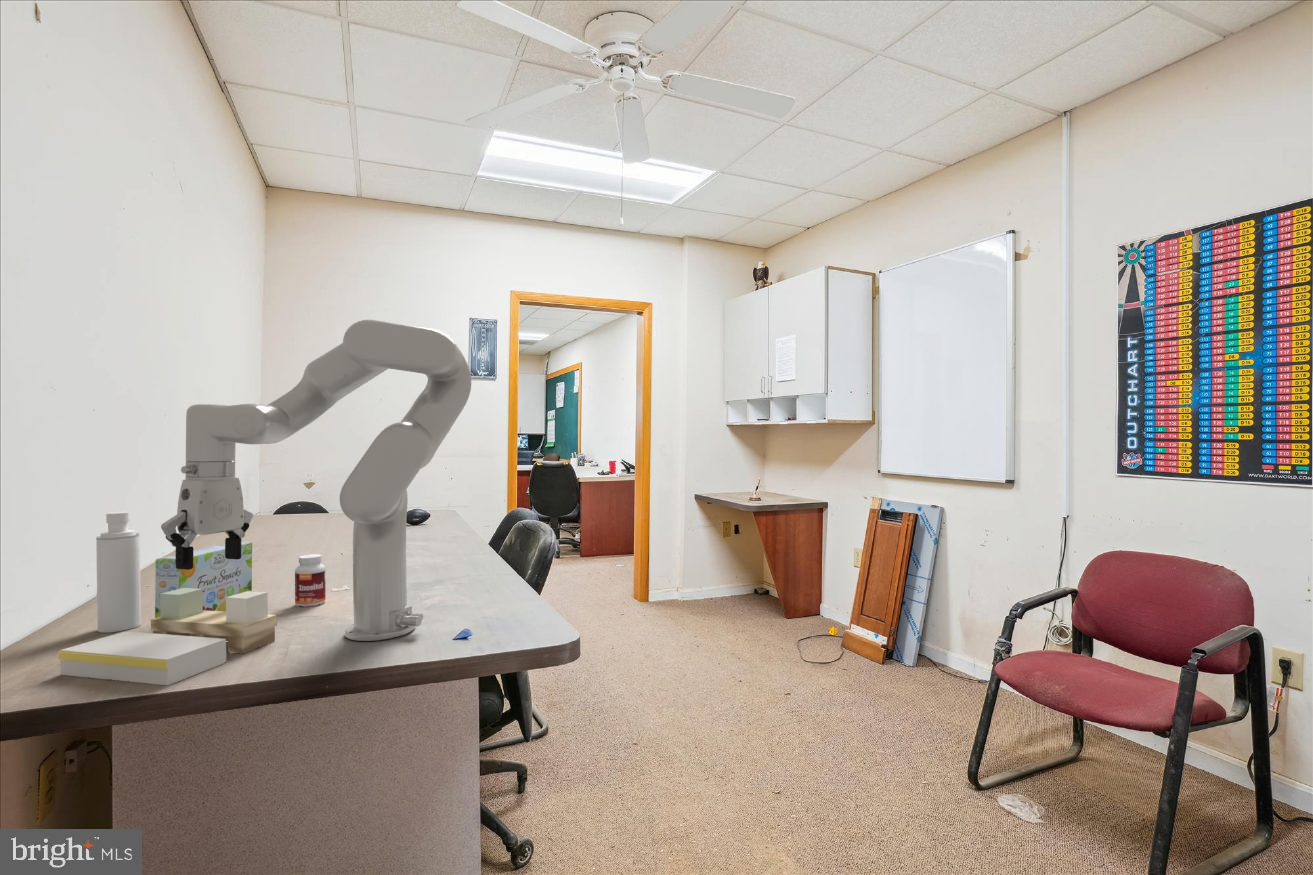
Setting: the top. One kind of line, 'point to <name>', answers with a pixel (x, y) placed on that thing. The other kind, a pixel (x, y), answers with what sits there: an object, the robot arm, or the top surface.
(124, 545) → the white tall bottle
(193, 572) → the snack box
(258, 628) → the pallet
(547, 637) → the top surface
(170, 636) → the block
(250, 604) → the block
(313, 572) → the pill bottle
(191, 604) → the block
